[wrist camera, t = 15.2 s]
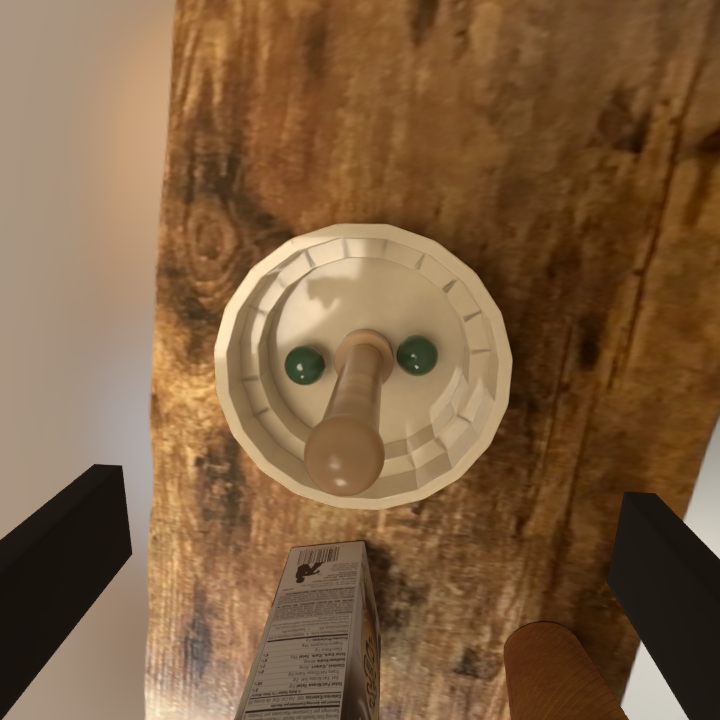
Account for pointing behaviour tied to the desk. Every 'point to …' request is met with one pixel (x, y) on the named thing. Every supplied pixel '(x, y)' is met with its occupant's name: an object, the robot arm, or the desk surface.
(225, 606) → the desk surface
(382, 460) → the muddler
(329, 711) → the coffee box
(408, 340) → the marble
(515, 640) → the disposable coffee cup
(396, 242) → the bowl
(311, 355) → the marble
